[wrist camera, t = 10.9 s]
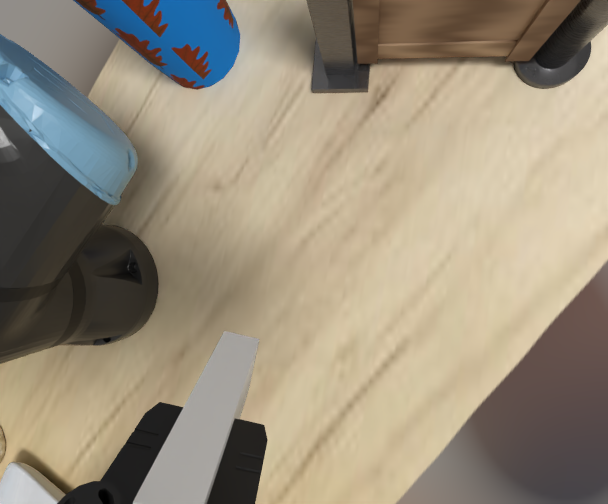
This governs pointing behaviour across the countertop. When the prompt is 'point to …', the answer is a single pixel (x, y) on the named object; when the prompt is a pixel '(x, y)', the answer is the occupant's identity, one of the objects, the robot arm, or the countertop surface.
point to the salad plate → (27, 486)
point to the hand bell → (2, 445)
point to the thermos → (175, 35)
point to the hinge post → (565, 47)
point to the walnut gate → (455, 28)
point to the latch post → (336, 49)
